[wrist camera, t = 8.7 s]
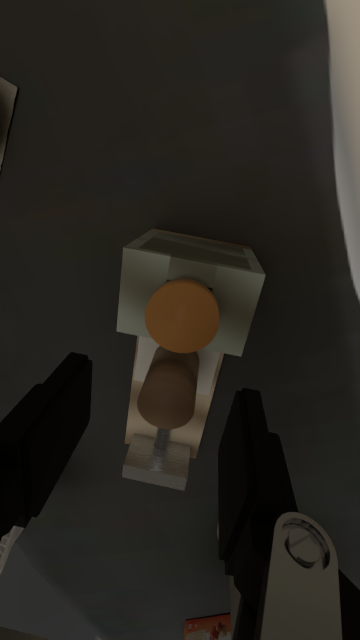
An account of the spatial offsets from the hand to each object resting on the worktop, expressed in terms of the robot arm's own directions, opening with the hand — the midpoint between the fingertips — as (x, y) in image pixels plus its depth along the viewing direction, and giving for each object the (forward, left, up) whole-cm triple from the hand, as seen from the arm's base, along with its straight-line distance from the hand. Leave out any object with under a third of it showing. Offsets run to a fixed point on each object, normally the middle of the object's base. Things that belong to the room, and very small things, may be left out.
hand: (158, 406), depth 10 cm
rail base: (-10, 0, -19) cm, 22 cm away
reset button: (0, 0, -11) cm, 11 cm away
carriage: (-7, 0, -18) cm, 19 cm away
